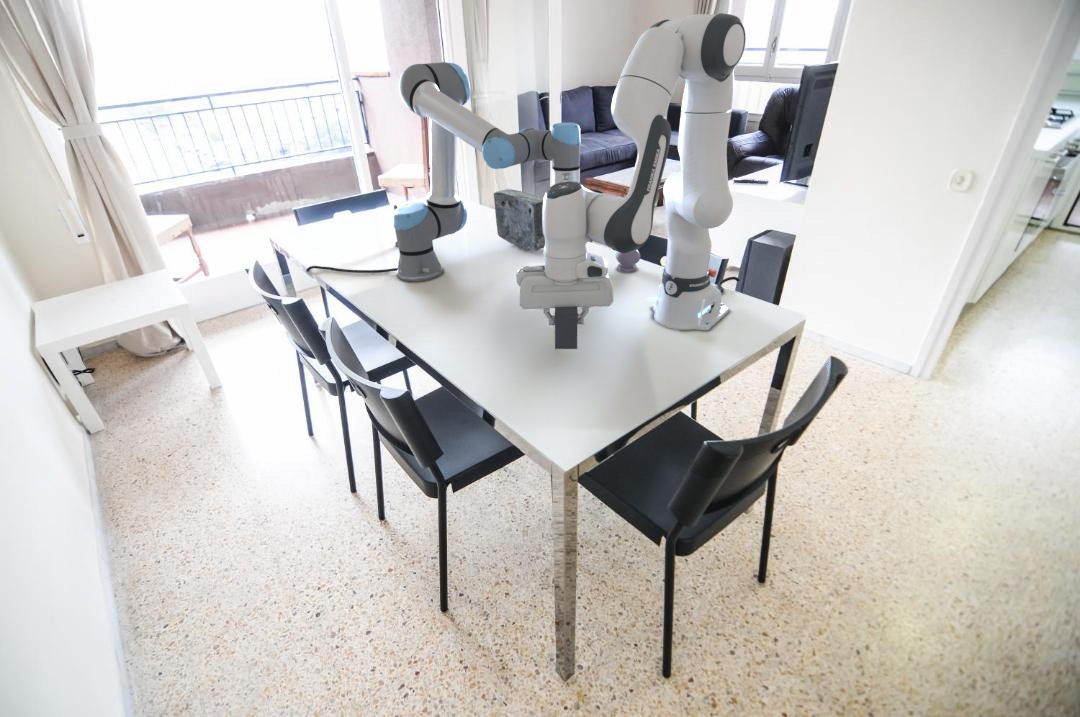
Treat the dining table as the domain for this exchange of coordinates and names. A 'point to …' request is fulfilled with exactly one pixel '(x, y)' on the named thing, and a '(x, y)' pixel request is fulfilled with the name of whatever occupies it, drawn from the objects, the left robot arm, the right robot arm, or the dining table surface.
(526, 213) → the concrete block
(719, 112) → the right robot arm
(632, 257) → the cat figurine
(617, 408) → the dining table surface
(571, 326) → the beam
